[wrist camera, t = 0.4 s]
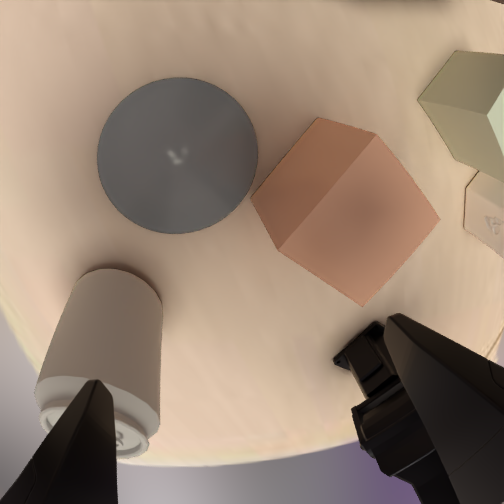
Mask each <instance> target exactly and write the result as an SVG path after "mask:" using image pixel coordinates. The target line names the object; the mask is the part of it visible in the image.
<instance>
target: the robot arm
mask: <svg viewBox="0 0 504 504" xmlns="http://www.w3.org/2000/svg"><path fill="white" fill-rule="evenodd" d="M333 362H334V364H335V365H337V366H339V367H342V368H345V369H347V370H350V371H351V372H352V373H353V375H354V377H355V379H356V381H357V383H358V385H359V387H360V389H361V391H362V393H363V395H364V397H365V399H366V400H365V401H364V402H362V403H361V404H359V405H357V406H354V407H353V408H351V411H352V414H353V415H352V417H353V421H354V424H355V428H356V431H357V435H358V438H359V442H360V447H361V449H362V450H365V451H366V452H367V453H368V454H369V455H370V456H371V457H372V458H374V459H375V458H376V460H377V463H378V465H379V467H380V470H381V471H382V472H383V473H384V474H386V475H387V476H389V477H392V476H395V477H397V478H399V479H401V480H403V481H406V482H408V483H410V484H411V485H412V486H413V488H414V490H415V492H416V494H417V496H418V498H419V500H420V502H421V504H504V368H503V367H502V366H500V365H498V364H496V363H494V362H492V361H490V360H488V359H486V358H485V357H483V356H481V355H479V354H477V353H475V352H473V351H471V350H470V349H468V348H466V347H464V346H462V345H460V344H458V343H456V342H454V341H453V340H451V339H449V338H447V337H445V336H443V335H441V334H439V333H437V332H435V331H434V330H432V329H430V328H428V327H426V326H424V325H422V324H420V323H418V322H416V321H414V320H412V319H411V318H409V317H407V316H405V315H403V314H401V313H397V314H394V315H391V316H389V317H388V318H387V320H386V326H384V325H382V324H381V323H379V322H374V323H372V324H371V325H370V326H369V327H368V328H367V329H366V330H365V331H364V332H363V333H362V334H361V335H360V336H359V337H358V338H357V339H356V340H354V341H353V342H352V343H351V344H350V345H349V346H348V347H347V348H346V349H345V350H343V351H342V352H341V353H340V354H339V355H338V356H337V357H335V358H334V359H333ZM116 450H117V447H116V430H115V417H114V402H113V397H112V394H111V393H110V391H109V390H108V389H107V388H106V386H105V385H104V384H103V383H102V381H101V380H99V379H92V380H88V381H87V382H86V383H85V384H84V385H83V387H82V388H81V389H80V391H79V392H78V393H77V395H76V396H75V397H74V399H73V400H72V401H71V403H70V404H69V406H68V407H67V408H66V410H65V411H64V412H63V414H62V415H61V417H60V418H59V419H58V421H57V422H56V424H55V425H54V426H53V428H52V429H51V431H50V432H49V433H48V435H47V436H46V438H45V439H44V441H43V442H42V444H41V445H40V447H39V448H38V449H37V451H36V452H35V454H34V455H33V457H32V459H30V461H29V462H28V464H27V465H26V467H25V468H24V470H23V471H22V473H21V474H20V475H19V477H18V478H17V479H16V481H15V482H14V483H13V485H12V486H11V487H10V488H9V490H8V491H7V492H6V493H5V495H4V496H3V497H2V498H1V500H0V504H118V494H117V456H116Z"/></svg>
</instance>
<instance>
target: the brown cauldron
mask: <svg viewBox="0 0 504 504" xmlns="http://www.w3.org/2000/svg"><path fill="white" fill-rule="evenodd" d="M492 1H495V2H498V3H501V4H504V0H492Z"/></svg>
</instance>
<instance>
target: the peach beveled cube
mask: <svg viewBox="0 0 504 504" xmlns="http://www.w3.org/2000/svg"><path fill="white" fill-rule="evenodd" d="M250 199H251V201H252V203H253V205H254V207H255V208H256V210H257V212H258V214H259V216H260V218H261V220H262V222H263V223H264V225H265V227H266V229H267V231H268V233H269V235H270V237H271V239H272V241H273V242H274V244H275V246H276V248H277V250H278V251H279V252H281V253H282V254H284V255H285V256H287V257H288V258H290V259H291V260H293V261H294V262H296V263H297V264H299V265H300V266H302V267H303V268H305V269H306V270H308V271H310V272H311V273H313V274H314V275H316V276H317V277H319V278H320V279H322V280H323V281H325V282H326V283H327V284H329V285H330V286H332V287H333V288H335V289H336V290H338V291H339V292H341V293H342V294H344V295H345V296H347V297H348V298H350V299H351V300H353V301H354V302H356V303H357V304H359V305H360V306H362V307H363V306H364V305H365V304H366V303H367V302H368V301H369V300H370V299H371V298H372V297H373V296H374V295H375V294H376V293H377V292H378V291H379V290H380V288H381V287H382V286H383V285H384V284H385V283H386V282H387V281H388V280H389V279H390V278H391V277H392V276H393V275H394V273H395V272H396V271H397V270H398V269H399V268H400V267H401V266H402V265H403V263H404V262H405V261H406V260H407V259H408V258H409V257H410V256H411V254H412V253H413V252H414V251H415V250H416V249H417V247H418V246H419V245H420V244H421V243H422V242H423V240H424V239H425V238H426V237H427V236H428V234H429V233H430V232H431V231H432V229H433V228H434V227H435V226H436V224H437V223H438V222H439V221H440V218H439V216H438V215H437V213H436V212H435V210H434V209H433V207H432V206H431V204H430V203H429V201H428V200H427V199H426V197H425V196H424V194H423V193H422V191H421V190H420V189H419V187H418V186H417V184H416V183H415V182H414V180H413V179H412V178H411V176H410V175H409V174H408V172H407V171H406V170H405V168H404V167H403V166H402V164H401V163H400V162H399V161H398V159H397V158H396V157H395V156H394V154H393V153H392V152H391V151H390V149H389V148H388V147H387V146H386V145H385V143H384V142H383V141H382V140H381V139H380V137H379V136H378V135H377V134H374V133H371V132H368V131H365V130H362V129H358V128H355V127H351V126H348V125H344V124H341V123H337V122H333V121H330V120H326V119H322V118H317V119H316V120H315V121H314V122H313V123H312V125H311V126H310V127H309V128H308V129H307V131H306V132H305V133H304V134H303V135H302V136H301V138H300V139H299V140H298V141H297V142H296V143H295V145H294V146H293V147H292V148H291V149H290V151H289V152H288V153H287V154H286V155H285V157H284V158H283V159H282V160H281V161H280V163H279V164H278V165H277V166H276V167H275V169H274V170H273V171H272V172H271V174H270V175H269V176H268V177H267V178H266V180H265V181H264V182H263V183H262V185H261V186H260V187H259V188H258V189H257V191H256V192H255V193H254V194H253V196H252V197H251V198H250Z"/></svg>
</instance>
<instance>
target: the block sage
mask: <svg viewBox="0 0 504 504" xmlns="http://www.w3.org/2000/svg"><path fill="white" fill-rule="evenodd" d="M417 101H418V102H419V103H420V105H421V106H422V108H423V109H424V111H425V112H426V113H427V115H428V116H429V118H430V119H431V121H432V123H433V124H434V126H435V127H436V129H437V130H438V132H439V134H440V135H441V137H442V138H443V140H444V142H445V143H446V145H447V147H448V148H449V150H450V152H451V154H452V155H453V157H454V159H455V160H457V161H459V162H461V163H464V164H466V165H468V166H470V167H473V168H475V169H477V170H479V171H481V172H483V173H485V174H487V175H489V176H491V177H493V178H495V179H497V180H499V181H501V182H503V183H504V55H503V54H494V53H483V52H468V51H455V52H454V54H453V55H452V56H451V57H450V59H449V60H448V61H447V63H446V64H445V65H444V67H443V68H442V69H441V70H440V72H439V73H438V74H437V76H436V77H435V78H434V79H433V81H432V82H431V83H430V84H429V86H428V87H427V88H426V90H425V91H424V92H423V93H422V95H421V96H420V97H419V98H418V100H417Z"/></svg>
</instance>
